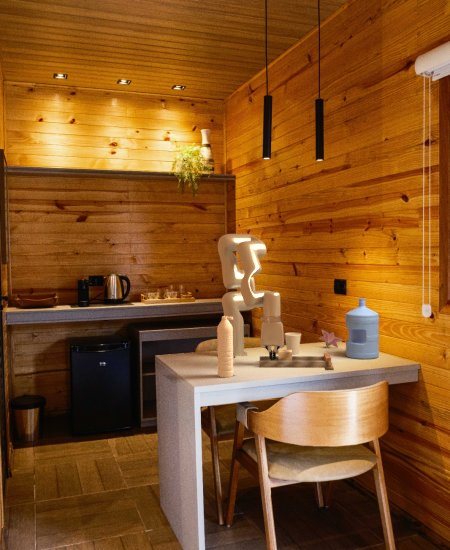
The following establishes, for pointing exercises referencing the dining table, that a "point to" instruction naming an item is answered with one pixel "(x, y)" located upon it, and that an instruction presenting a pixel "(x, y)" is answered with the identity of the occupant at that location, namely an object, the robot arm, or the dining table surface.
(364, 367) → the dining table surface
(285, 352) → the birch block
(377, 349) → the water jug
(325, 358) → the track
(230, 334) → the water bottle
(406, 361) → the dining table surface
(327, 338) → the lily
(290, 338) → the dixie cup
